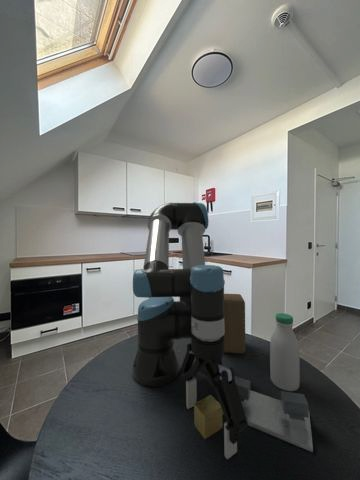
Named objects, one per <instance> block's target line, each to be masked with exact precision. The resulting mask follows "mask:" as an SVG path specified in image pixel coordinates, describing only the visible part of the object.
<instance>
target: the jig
mask: <svg viewBox="0 0 360 480" xmlns="http://www.w3.org/2000/svg"><path fill="white" fill-rule="evenodd" d="M234 376H235V383H236V386H237V389H238V392H239V396H240V399H241V402H242V406H243V409H244V412H245V416H246V419H247V422H248V427H251V428H254V429H255V430H258V431H261V432H263V433H265V434H268V435H271V436H272V437H275V438H277V439H279V440H282V441H284V442H287V443H289V444H292V445H293V446H296V447H298V448H301V449H303V450H306V451H308V452H311V453H314V445H313V435H312V434H313V433H312V428H311V427H312V426H311V419H310V418H311V417H310V416H311V414H310V410H309V409H310V408H309V407H310V406H309V403H308V400H307V398H306V396H305V394H304V393H299V392H297V393H296V392H293V391H286V390H280V399H276V398H274V397H271V396H268V395H266V394H263V393H259V392H257V391H254V390H252V389H251V388H252V386H251V385H252V384H251V383H252V381H251V380H248V379H245V378H242V377H239V376H236V375H234ZM222 416H224V413H223V411H222ZM231 418H232V417H231Z"/></svg>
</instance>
